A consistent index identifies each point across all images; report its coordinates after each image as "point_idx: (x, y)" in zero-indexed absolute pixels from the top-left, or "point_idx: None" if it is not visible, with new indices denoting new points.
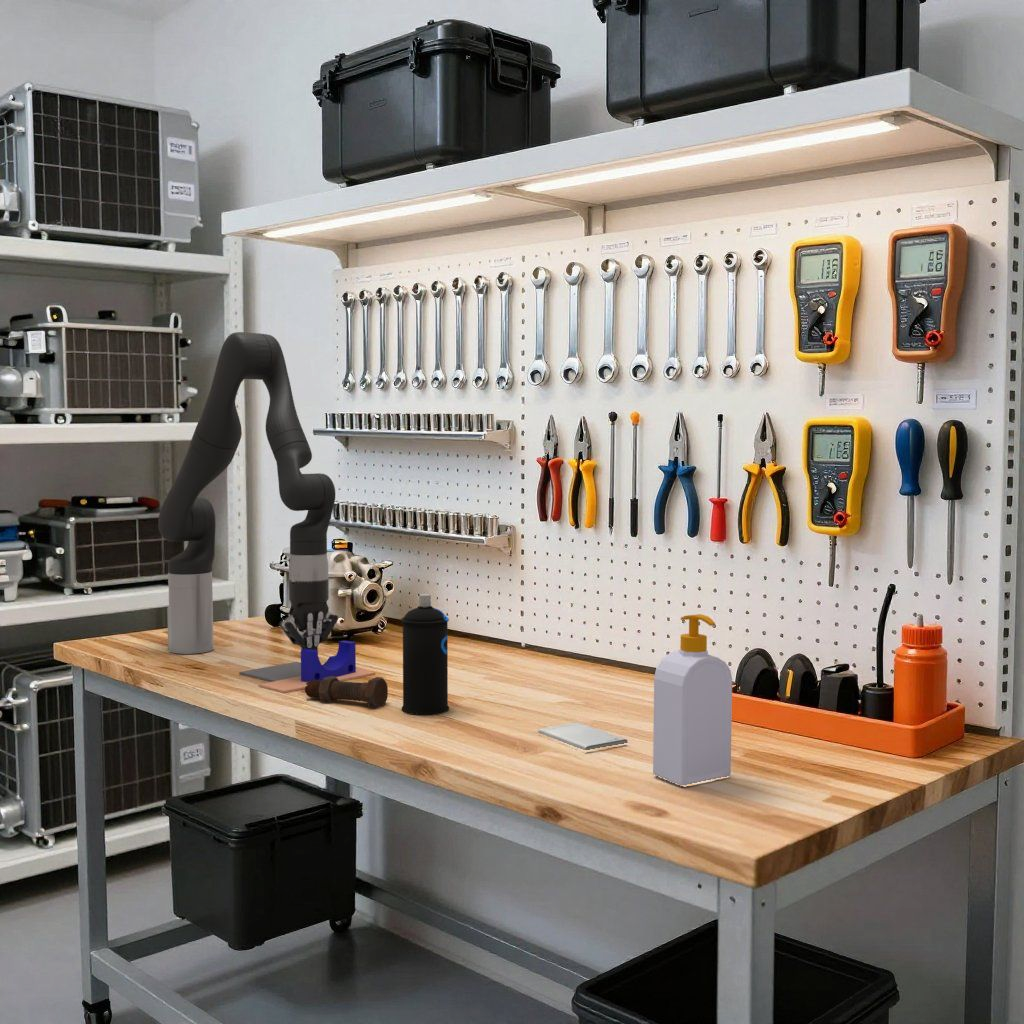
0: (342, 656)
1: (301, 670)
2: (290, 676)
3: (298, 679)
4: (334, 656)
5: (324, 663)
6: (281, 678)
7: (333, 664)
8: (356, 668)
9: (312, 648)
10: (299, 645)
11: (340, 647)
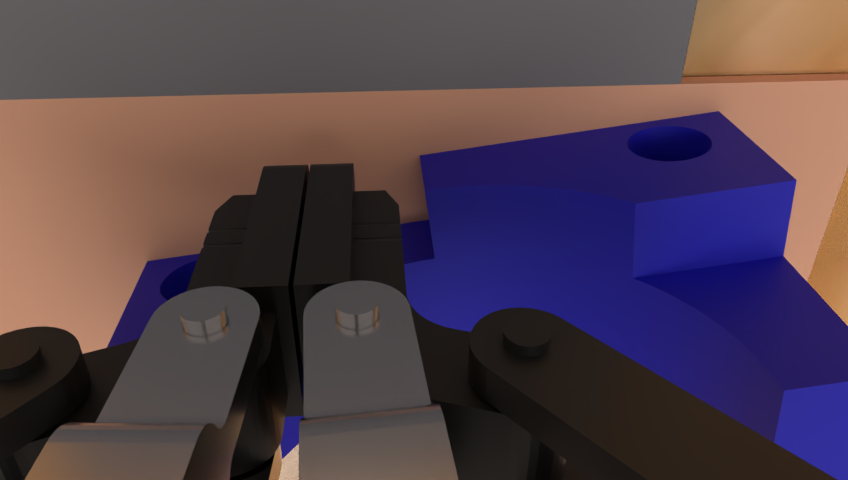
0: (652, 363)
1: (122, 327)
2: (158, 29)
3: (159, 198)
4: (680, 228)
5: (530, 190)
6: (28, 42)
7: (543, 294)
8: (836, 187)
9: (298, 406)
10: (126, 345)
11: (738, 364)
